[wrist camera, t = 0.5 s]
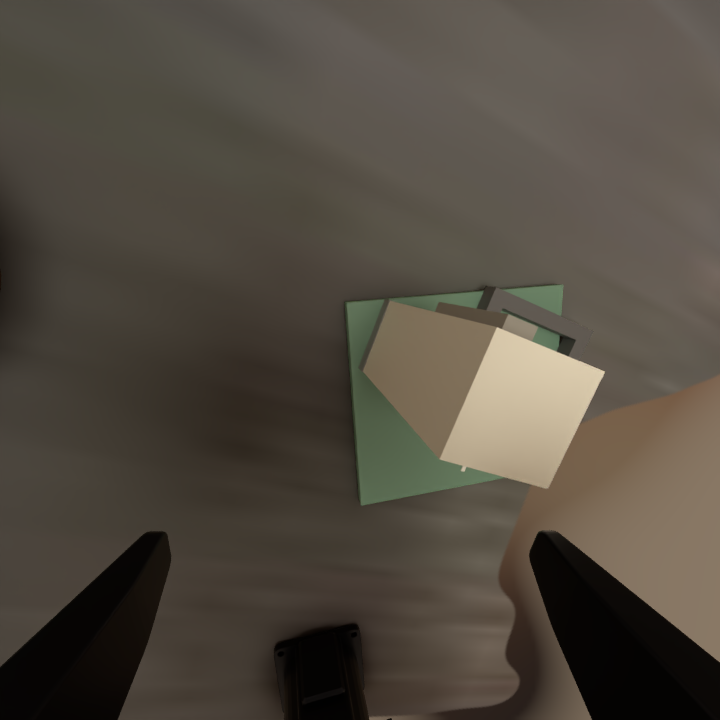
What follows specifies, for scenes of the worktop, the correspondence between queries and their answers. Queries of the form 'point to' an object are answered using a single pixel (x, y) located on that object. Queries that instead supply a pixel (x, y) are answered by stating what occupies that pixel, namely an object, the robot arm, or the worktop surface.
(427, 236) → the worktop surface
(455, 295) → the board
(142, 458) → the worktop surface
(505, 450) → the plug
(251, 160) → the worktop surface
